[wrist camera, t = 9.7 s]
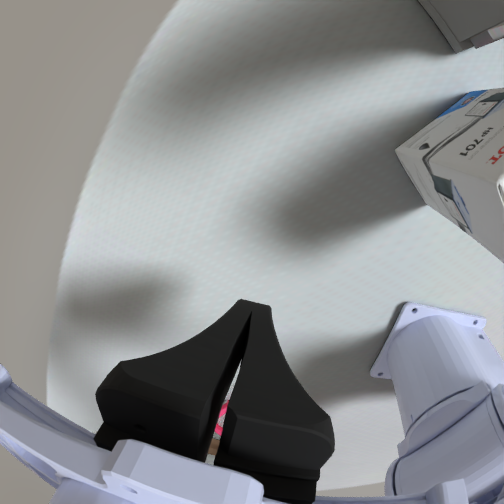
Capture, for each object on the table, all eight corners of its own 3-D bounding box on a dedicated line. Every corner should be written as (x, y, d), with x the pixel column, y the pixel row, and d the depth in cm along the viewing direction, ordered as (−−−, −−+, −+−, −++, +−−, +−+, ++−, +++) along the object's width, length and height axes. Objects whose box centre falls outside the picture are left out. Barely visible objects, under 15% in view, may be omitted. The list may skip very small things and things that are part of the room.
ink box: (470, 89, 14) (585, 76, 3) (502, 148, 15) (615, 178, 4) (390, 151, 17) (491, 176, 6) (428, 211, 18) (527, 291, 7)
